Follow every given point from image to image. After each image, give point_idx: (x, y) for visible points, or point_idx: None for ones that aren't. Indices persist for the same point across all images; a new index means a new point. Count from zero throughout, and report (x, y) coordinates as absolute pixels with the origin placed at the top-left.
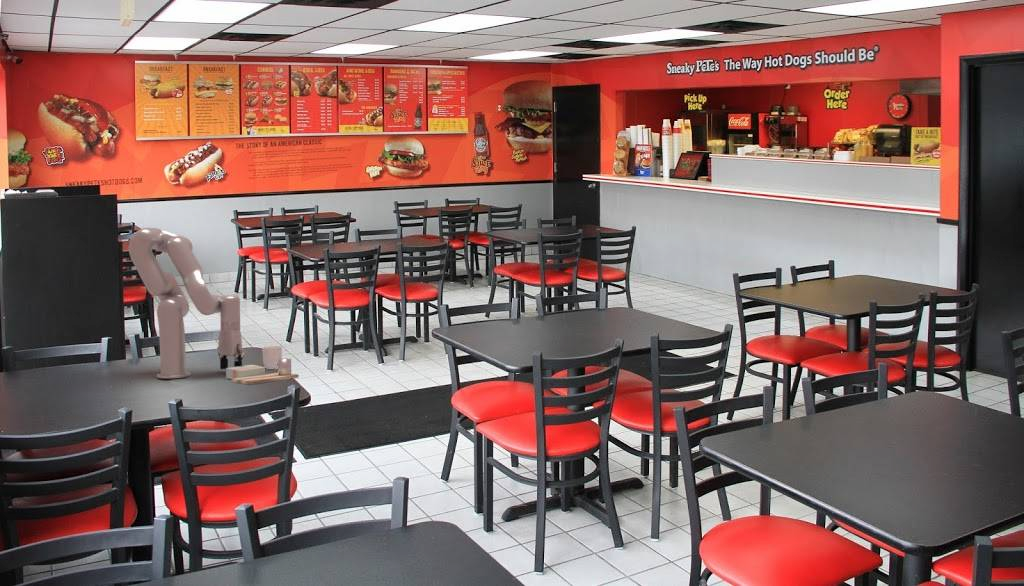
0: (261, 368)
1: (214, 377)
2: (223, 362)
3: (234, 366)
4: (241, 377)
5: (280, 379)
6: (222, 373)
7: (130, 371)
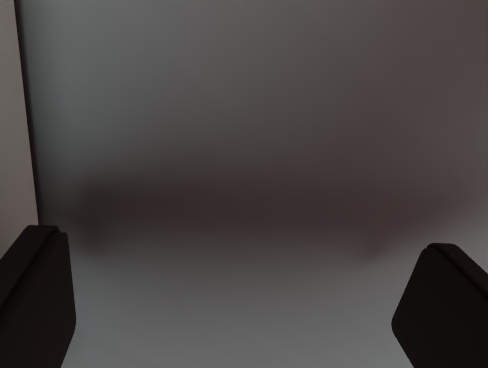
0: None
1: (350, 16)
2: (480, 355)
3: (11, 282)
4: None
5: None
6: None
7: None
